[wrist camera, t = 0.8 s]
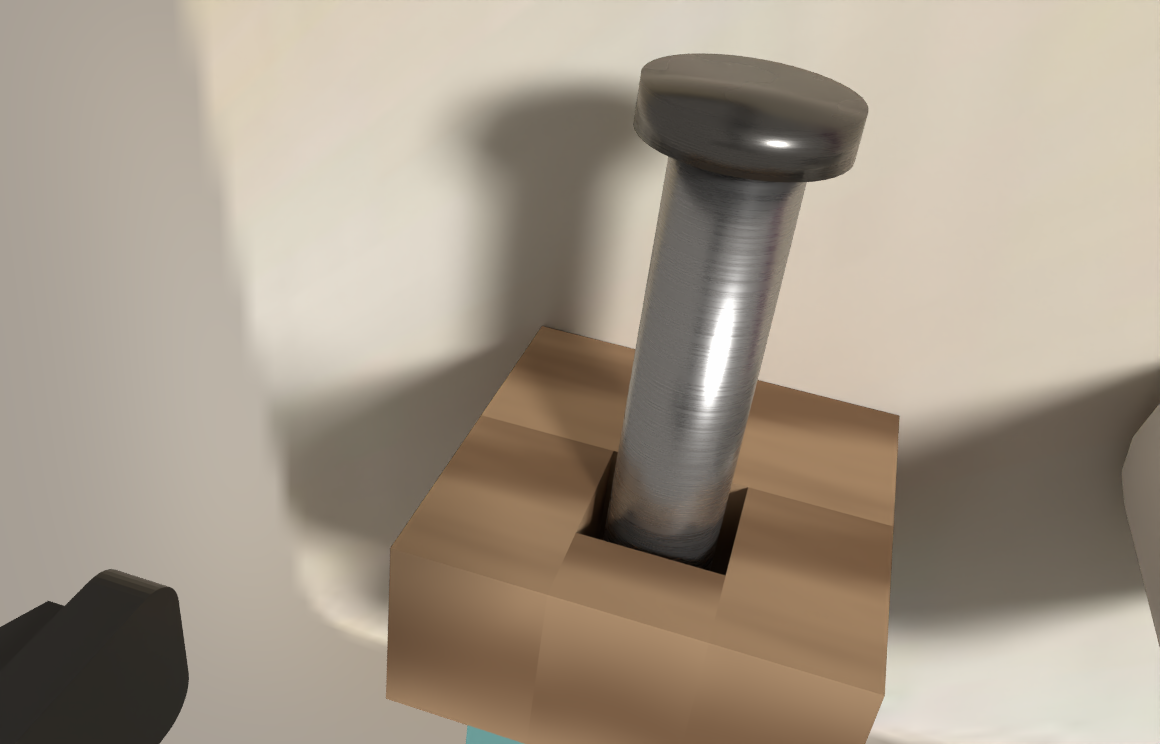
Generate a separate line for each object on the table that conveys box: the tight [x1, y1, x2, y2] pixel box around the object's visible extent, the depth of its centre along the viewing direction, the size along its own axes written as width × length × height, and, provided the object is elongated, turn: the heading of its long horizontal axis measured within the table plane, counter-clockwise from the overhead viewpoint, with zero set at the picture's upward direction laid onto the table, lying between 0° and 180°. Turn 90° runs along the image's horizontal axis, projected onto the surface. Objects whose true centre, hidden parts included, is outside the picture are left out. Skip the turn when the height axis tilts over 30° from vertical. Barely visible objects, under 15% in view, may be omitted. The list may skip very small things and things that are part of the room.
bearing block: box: [386, 326, 899, 744], centre depth 28 cm, size 5×11×11 cm, turn 83°
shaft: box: [603, 54, 868, 571], centre depth 26 cm, size 20×4×4 cm, turn 173°
